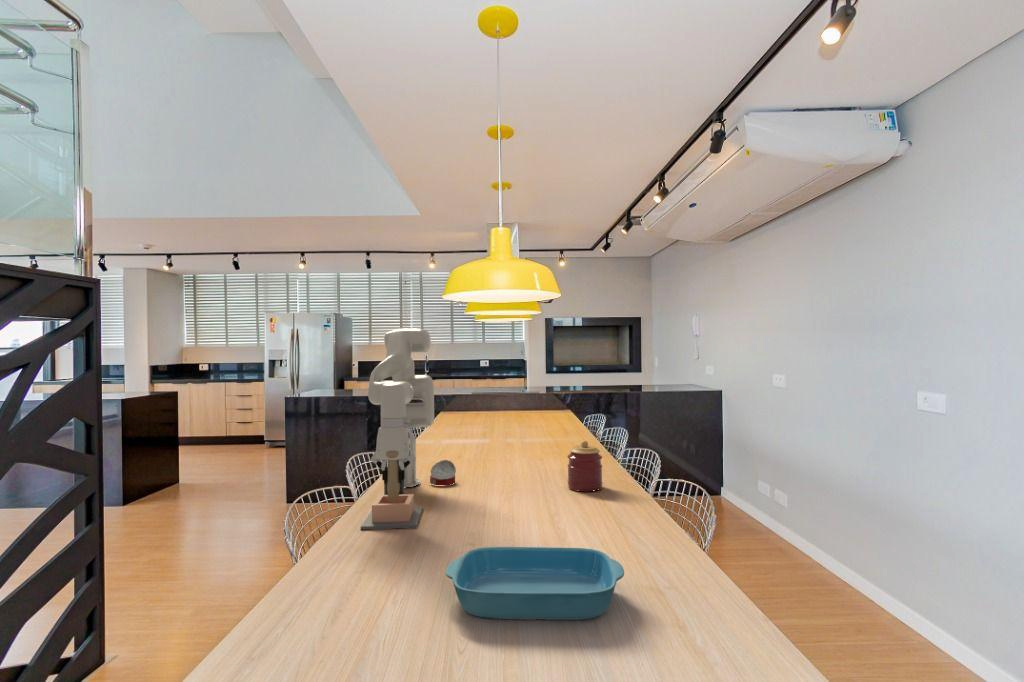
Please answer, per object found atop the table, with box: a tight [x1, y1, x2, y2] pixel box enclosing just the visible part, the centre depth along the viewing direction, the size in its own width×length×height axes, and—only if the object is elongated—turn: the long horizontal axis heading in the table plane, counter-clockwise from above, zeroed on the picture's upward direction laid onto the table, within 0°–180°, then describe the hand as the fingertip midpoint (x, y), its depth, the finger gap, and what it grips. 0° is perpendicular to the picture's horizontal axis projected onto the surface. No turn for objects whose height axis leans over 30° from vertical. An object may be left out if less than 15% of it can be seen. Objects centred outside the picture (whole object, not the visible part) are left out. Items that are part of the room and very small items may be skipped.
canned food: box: [429, 459, 457, 485], centre depth 202 cm, size 11×10×10 cm
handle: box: [386, 452, 400, 500], centre depth 159 cm, size 5×6×15 cm
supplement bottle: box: [383, 466, 405, 495], centre depth 178 cm, size 7×7×12 cm
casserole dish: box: [445, 546, 625, 621], centre depth 107 cm, size 37×22×7 cm, turn 86°
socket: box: [360, 493, 424, 530], centre depth 159 cm, size 18×16×6 cm
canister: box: [566, 440, 604, 492], centre depth 193 cm, size 13×13×18 cm
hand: (393, 481), depth 159 cm, fingers closed on handle, 3 cm apart
